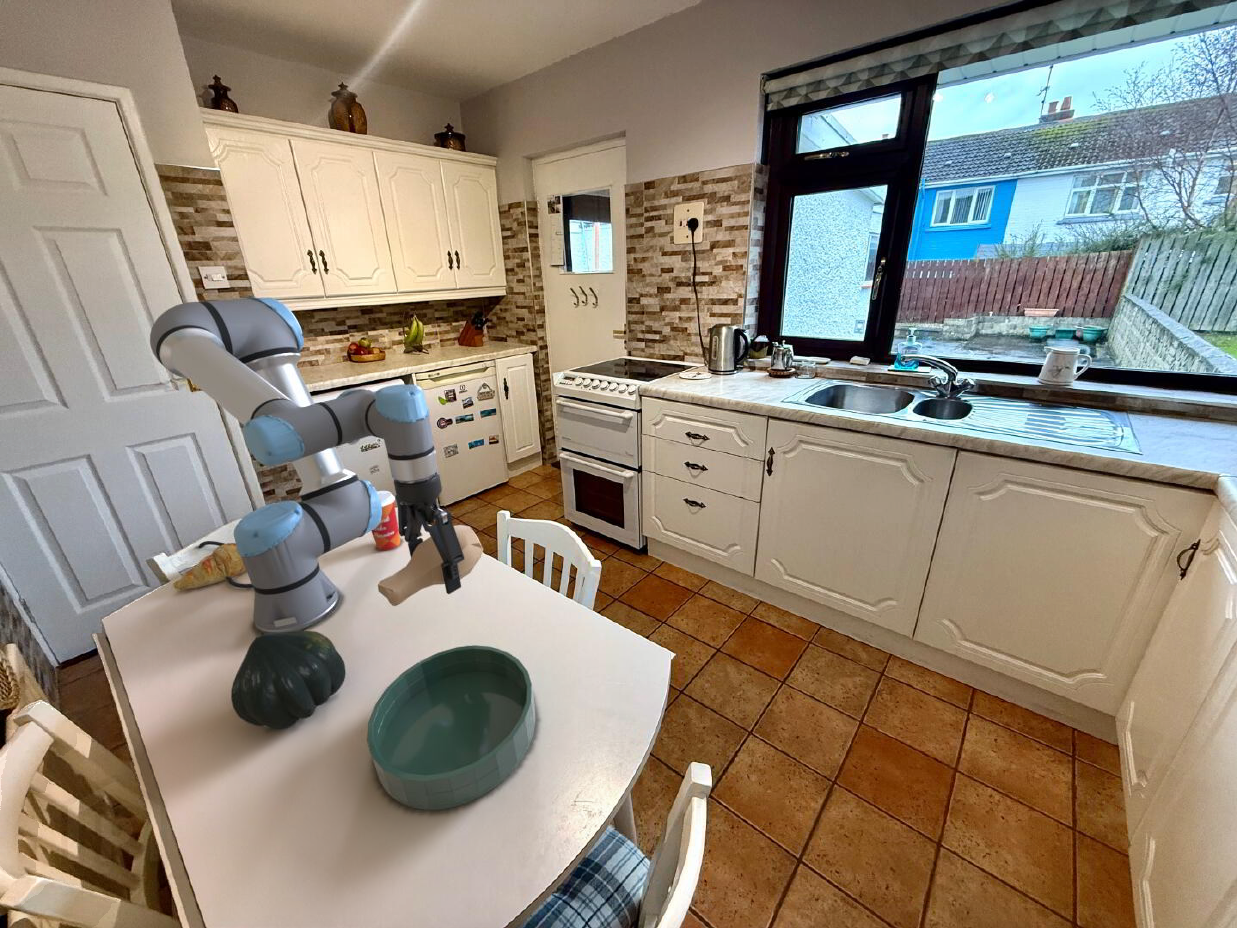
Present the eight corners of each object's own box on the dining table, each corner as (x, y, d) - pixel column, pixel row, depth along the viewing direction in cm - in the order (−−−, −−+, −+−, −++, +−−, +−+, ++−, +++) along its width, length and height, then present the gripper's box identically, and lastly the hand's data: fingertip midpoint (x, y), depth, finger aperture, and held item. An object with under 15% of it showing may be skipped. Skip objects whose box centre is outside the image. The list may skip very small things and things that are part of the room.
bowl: (347, 745, 74) (336, 717, 71) (474, 651, 91) (469, 626, 88) (436, 849, 60) (427, 819, 58) (566, 716, 77) (563, 689, 75)
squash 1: (359, 686, 77) (318, 603, 79) (249, 753, 68) (205, 656, 70) (353, 690, 88) (317, 617, 90) (257, 748, 79) (219, 665, 80)
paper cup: (366, 551, 123) (352, 502, 118) (384, 535, 130) (372, 489, 125) (394, 553, 122) (382, 504, 117) (411, 537, 129) (400, 490, 124)
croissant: (187, 610, 109) (181, 590, 104) (163, 581, 112) (156, 560, 107) (286, 561, 125) (285, 542, 121) (264, 537, 128) (261, 517, 123)
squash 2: (497, 565, 98) (492, 533, 93) (405, 629, 85) (393, 595, 80) (465, 540, 103) (458, 508, 98) (375, 595, 91) (361, 562, 86)
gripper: (474, 483, 81) (490, 591, 90) (401, 453, 93) (421, 550, 102) (434, 501, 75) (456, 613, 84) (362, 466, 88) (387, 567, 97)
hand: (437, 579), depth 93 cm, fingers closed on squash 2, 10 cm apart
